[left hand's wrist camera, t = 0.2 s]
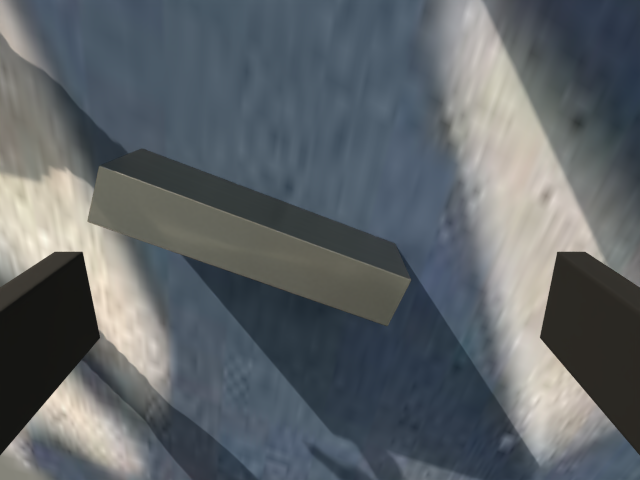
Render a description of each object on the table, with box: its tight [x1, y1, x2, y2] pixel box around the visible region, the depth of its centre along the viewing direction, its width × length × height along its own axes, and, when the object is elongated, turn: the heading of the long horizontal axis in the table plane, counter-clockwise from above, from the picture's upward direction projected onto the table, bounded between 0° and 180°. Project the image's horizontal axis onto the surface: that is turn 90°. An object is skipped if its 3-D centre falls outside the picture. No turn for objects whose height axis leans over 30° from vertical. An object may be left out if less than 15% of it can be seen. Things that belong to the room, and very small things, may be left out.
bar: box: [88, 149, 411, 326], centre depth 37 cm, size 24×4×8 cm, turn 69°
